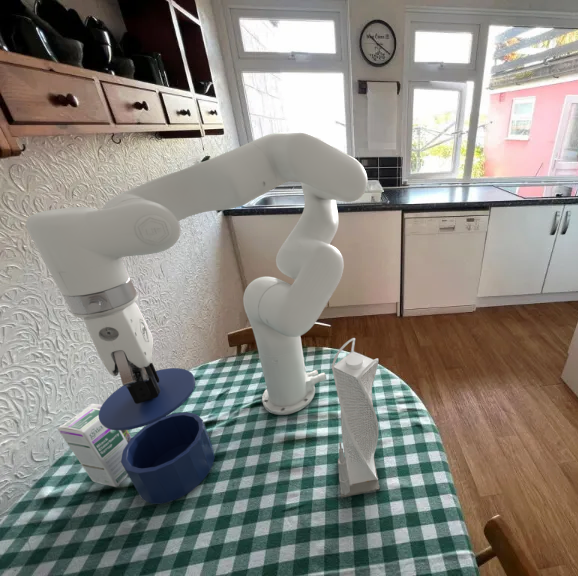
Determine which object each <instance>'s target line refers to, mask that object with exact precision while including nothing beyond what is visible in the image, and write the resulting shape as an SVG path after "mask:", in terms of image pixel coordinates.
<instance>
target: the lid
mask: <svg viewBox="0 0 578 576" xmlns="http://www.w3.org/2000/svg"><path fill="white" fill-rule="evenodd" d="M131 365H132V364H131ZM144 368H145V370H146V372H147V375H148V377H150V376H151V378H152V380H153V382H154V384H155V386H156V389H157V391H158V393H159V395H158V397H156V398H153V399H150V400H147V401H145V402H142V403H139V404H136V403H135V402H134V400H133V398H132V396H131V394H130V392H129V390H128V388H127V387H126V386H123V385H122V386H120V387H119V388H117V389H115V391H113V392H112V394H110V395H109V396H108V397H107V398H106V399H105V400H104V401H103V403H102V404H101V405H102V406H101V408H100V411H99V420H100V422H101V424H102V425H103V426H104V427H106V428H108V429H111V430H128V431H130V430H135V429H138V428H143V427H146V426H147V425H149V424H151V423H153V422H156V421H158V420H160V419H162V418H163V417H165V416H168V415H171V414H173V412H175V411H176V410H177V409H179V408H180V407H181V406H182V405H183V404H184V403H185V402H187V400H188V399H189V398H190V397H191V395H193V392H194V390H195V387H196V378H195V376H194V374H193V372H191V371H190V370H187V369H186V368H185V369H184V368H180V367H172V368H171V367H170V368H162V369H157V370H156V372H157V375H158V377H159V382H158V383H157V381H156V379H155V376H154V374H153V372H152V370H151V368H150V365H149V366H147V367H144ZM132 372H133V374H135V373H140V372H139V369H137V370H134V371H132Z"/></svg>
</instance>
